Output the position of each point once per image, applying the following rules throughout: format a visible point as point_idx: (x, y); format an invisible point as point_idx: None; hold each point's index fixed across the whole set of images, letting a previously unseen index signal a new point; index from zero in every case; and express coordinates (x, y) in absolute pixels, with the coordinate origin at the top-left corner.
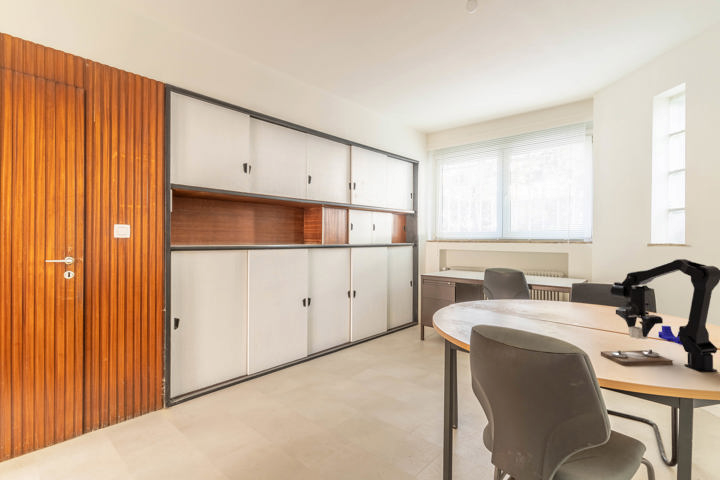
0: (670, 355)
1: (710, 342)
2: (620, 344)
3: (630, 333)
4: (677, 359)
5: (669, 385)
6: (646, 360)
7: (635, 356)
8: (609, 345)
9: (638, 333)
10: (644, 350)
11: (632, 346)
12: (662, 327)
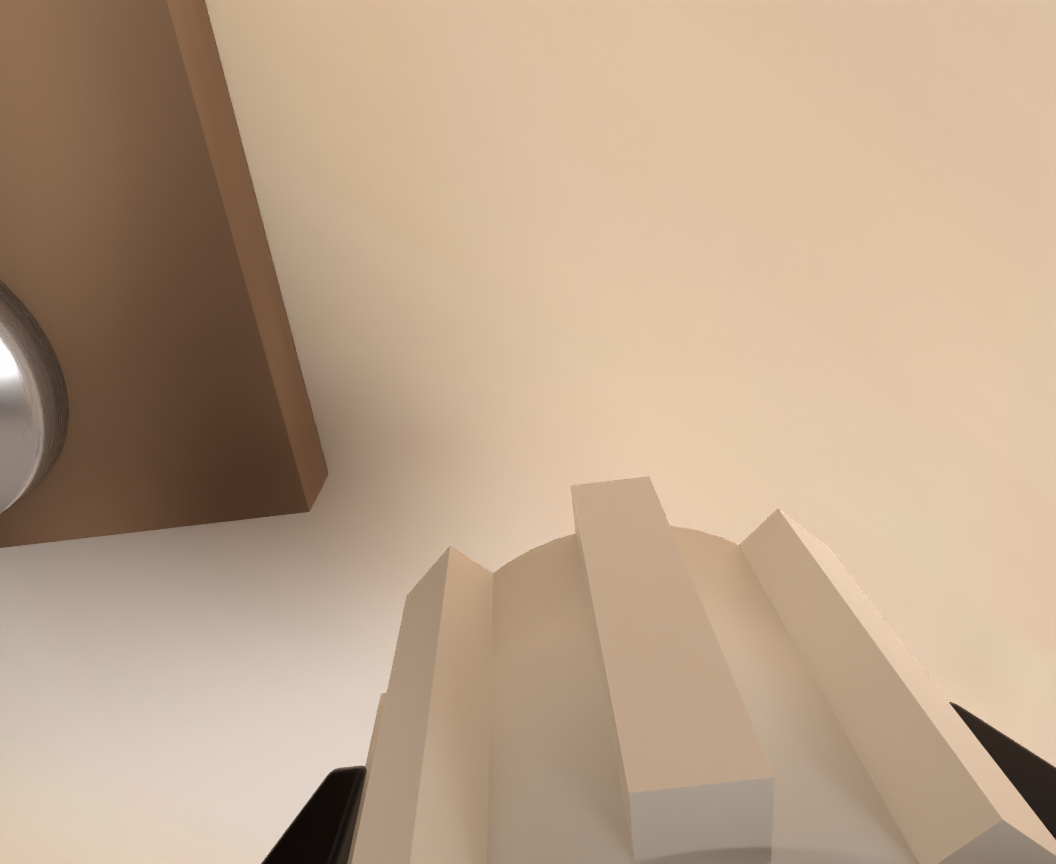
0: (310, 774)
1: None
2: (974, 366)
3: (663, 555)
4: (110, 751)
5: None
6: None
7: None
8: (963, 20)
9: (376, 751)
10: (298, 475)
11: (807, 517)
12: None
